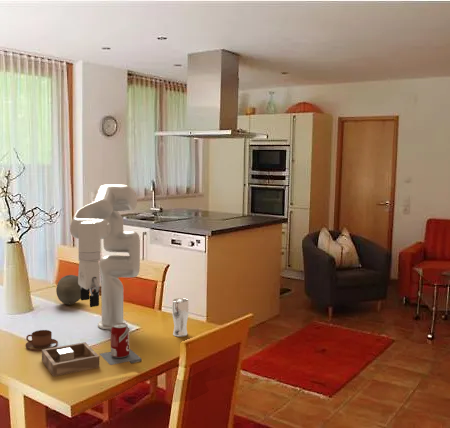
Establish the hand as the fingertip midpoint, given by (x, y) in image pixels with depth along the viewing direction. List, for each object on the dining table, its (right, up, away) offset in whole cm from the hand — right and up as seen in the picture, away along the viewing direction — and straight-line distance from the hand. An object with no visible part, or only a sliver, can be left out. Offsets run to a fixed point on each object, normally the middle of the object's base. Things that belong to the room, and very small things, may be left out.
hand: (89, 303), depth 186 cm
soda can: (+9, -21, +8) cm, 25 cm away
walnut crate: (-7, -23, 0) cm, 24 cm away
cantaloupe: (-30, -14, +76) cm, 83 cm away
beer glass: (+29, -20, +36) cm, 50 cm away
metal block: (-9, -21, +1) cm, 23 cm away
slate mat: (+9, -22, +8) cm, 25 cm away
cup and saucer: (-23, -21, +17) cm, 35 cm away
